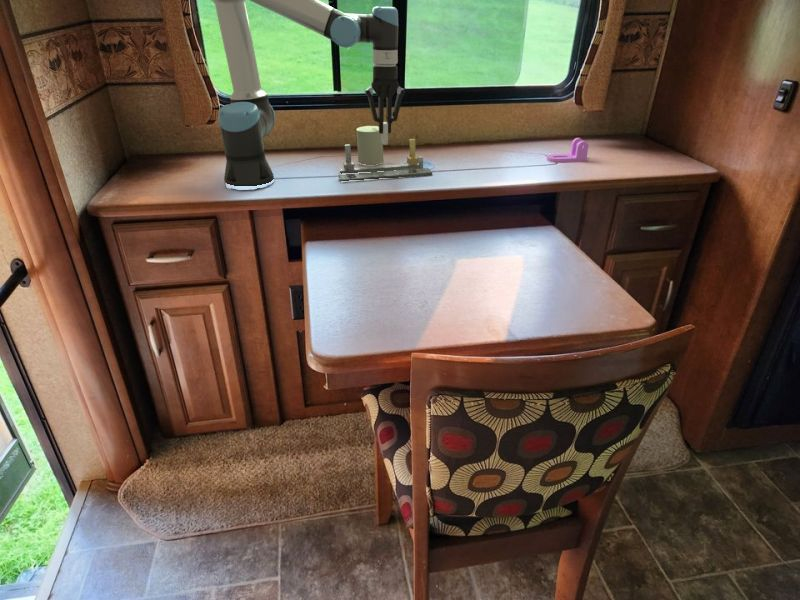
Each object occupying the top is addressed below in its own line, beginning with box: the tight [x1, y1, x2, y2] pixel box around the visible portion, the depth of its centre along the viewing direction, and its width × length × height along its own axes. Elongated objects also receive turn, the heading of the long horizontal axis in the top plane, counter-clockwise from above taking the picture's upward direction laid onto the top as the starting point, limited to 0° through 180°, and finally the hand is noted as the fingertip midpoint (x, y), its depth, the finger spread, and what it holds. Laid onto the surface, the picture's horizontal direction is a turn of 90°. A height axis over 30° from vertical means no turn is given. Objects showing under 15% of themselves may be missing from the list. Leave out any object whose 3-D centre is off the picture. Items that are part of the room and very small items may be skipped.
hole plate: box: [338, 167, 433, 181], centre depth 168 cm, size 30×5×1 cm, turn 103°
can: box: [355, 125, 385, 166], centre depth 180 cm, size 9×9×12 cm
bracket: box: [546, 137, 589, 164], centre depth 181 cm, size 13×6×7 cm, turn 96°
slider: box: [406, 138, 418, 165], centre depth 173 cm, size 3×3×8 cm
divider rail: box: [339, 143, 424, 174], centre depth 172 cm, size 28×3×9 cm, turn 103°
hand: (384, 143), depth 170 cm, fingers closed
